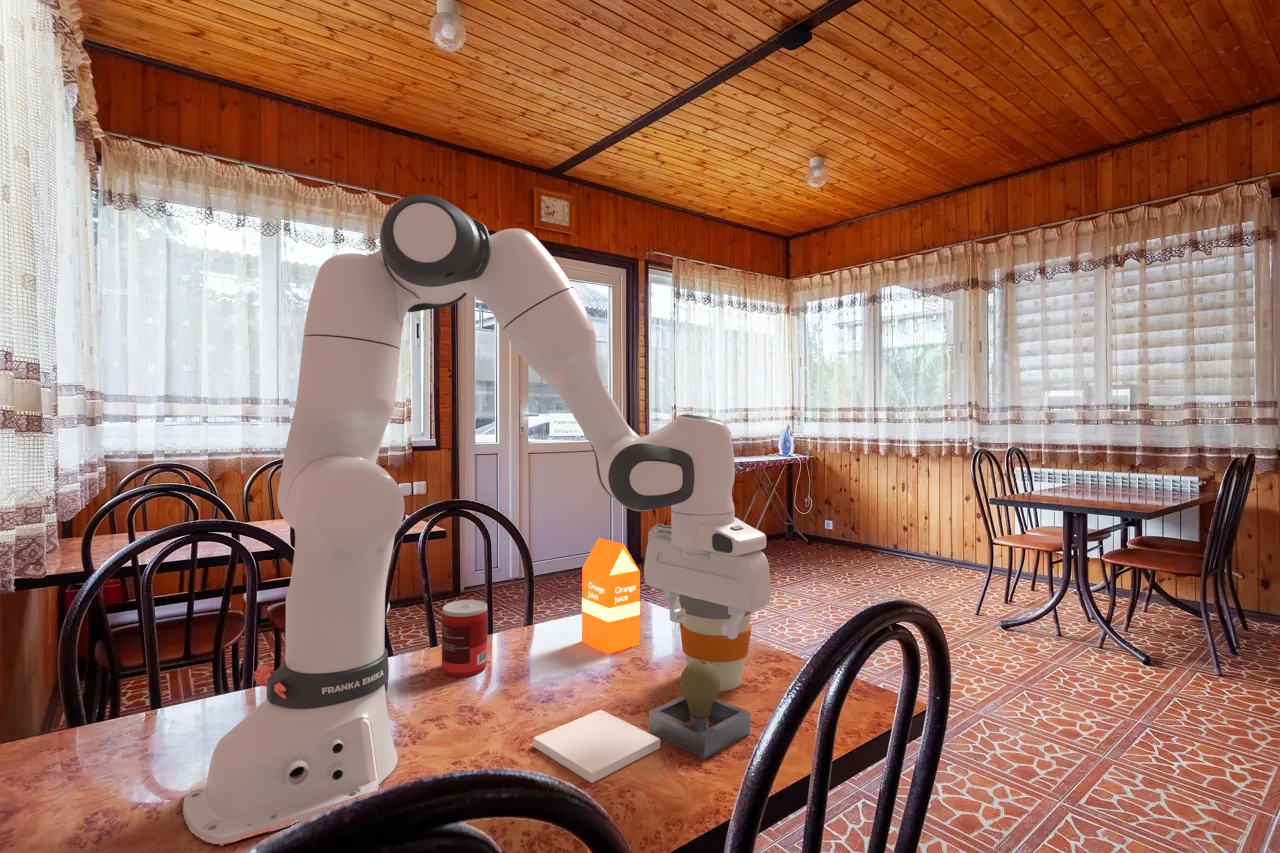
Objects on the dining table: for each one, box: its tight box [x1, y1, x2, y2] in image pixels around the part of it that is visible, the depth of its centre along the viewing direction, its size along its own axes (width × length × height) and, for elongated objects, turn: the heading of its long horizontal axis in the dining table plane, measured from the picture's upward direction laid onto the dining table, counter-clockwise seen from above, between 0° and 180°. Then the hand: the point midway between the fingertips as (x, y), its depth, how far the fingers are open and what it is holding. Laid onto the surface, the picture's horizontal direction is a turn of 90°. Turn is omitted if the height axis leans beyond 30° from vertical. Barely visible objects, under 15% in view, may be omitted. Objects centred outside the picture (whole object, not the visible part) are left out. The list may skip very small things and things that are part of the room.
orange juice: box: [581, 537, 641, 655], centre depth 126 cm, size 8×9×20 cm
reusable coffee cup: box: [678, 594, 753, 692], centre depth 109 cm, size 13×13×15 cm
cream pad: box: [532, 709, 661, 784], centre depth 86 cm, size 12×12×1 cm
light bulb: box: [679, 661, 720, 731], centre depth 90 cm, size 6×6×10 cm
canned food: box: [441, 599, 489, 678], centre depth 112 cm, size 8×8×11 cm
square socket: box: [648, 695, 751, 760], centre depth 90 cm, size 10×10×3 cm
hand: (702, 629), depth 90 cm, fingers open, 8 cm apart
